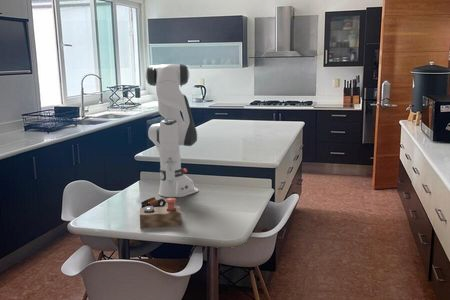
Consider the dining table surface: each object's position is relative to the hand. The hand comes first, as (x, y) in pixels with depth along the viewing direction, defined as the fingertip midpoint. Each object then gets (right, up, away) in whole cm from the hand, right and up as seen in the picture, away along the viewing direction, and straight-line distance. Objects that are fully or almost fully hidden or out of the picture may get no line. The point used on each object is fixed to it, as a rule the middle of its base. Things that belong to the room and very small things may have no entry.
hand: (170, 186), depth 209 cm
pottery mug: (-10, -14, +19) cm, 26 cm away
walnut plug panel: (-5, -17, +3) cm, 18 cm away
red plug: (0, -13, +3) cm, 13 cm away
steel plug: (-10, -16, +2) cm, 19 cm away
